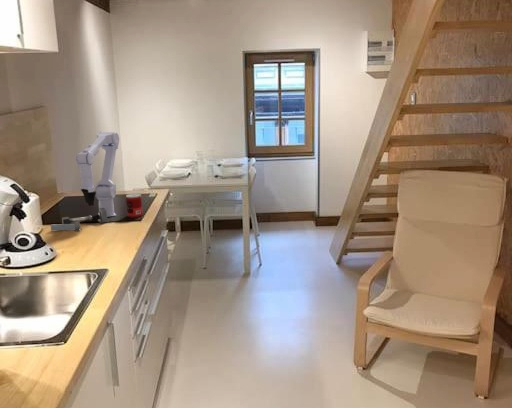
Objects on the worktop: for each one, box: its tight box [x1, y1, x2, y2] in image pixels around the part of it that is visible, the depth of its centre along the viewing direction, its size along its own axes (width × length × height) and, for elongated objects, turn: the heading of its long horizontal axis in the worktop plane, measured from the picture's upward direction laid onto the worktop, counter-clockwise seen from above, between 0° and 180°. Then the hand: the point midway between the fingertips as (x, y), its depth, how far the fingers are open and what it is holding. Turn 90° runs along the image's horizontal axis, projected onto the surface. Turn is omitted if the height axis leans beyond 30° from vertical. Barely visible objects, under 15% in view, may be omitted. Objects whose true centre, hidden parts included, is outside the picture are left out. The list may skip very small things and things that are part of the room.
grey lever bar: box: [50, 222, 81, 232], centre depth 248 cm, size 14×2×3 cm, turn 90°
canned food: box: [125, 193, 144, 218], centre depth 271 cm, size 8×8×11 cm
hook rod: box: [61, 215, 93, 224], centre depth 257 cm, size 4×14×4 cm, turn 117°
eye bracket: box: [97, 207, 111, 224], centre depth 262 cm, size 6×5×6 cm
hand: (89, 204), depth 257 cm, fingers open, 7 cm apart
